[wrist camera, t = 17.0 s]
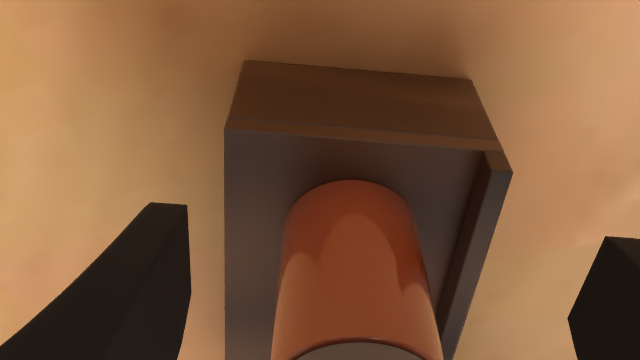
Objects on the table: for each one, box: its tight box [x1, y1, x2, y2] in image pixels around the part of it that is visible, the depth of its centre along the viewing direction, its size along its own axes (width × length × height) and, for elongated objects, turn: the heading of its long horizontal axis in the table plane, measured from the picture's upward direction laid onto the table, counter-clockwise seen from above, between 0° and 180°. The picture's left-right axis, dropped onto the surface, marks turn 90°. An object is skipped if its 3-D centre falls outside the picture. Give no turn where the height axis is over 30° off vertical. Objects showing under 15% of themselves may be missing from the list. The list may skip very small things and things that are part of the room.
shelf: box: [224, 61, 513, 360], centre depth 22 cm, size 15×8×6 cm, turn 175°
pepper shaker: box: [270, 180, 444, 360], centre depth 15 cm, size 4×4×6 cm
